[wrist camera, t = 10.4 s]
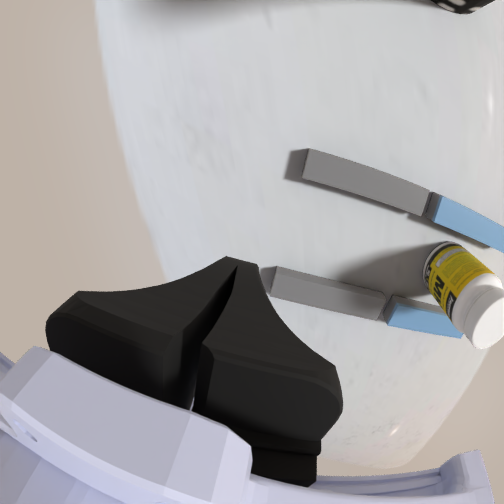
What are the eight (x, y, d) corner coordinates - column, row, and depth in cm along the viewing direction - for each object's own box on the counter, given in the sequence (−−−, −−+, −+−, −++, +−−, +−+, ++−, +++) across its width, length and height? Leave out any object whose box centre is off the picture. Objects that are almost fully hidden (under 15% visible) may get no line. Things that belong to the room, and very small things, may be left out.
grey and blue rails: (454, 328, 21) (460, 338, 20) (270, 288, 22) (269, 298, 21) (502, 226, 17) (512, 232, 16) (308, 148, 18) (310, 148, 16)
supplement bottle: (413, 259, 20) (462, 320, 12) (457, 230, 18) (518, 276, 10) (430, 301, 21) (470, 365, 13) (470, 273, 19) (520, 327, 12)
